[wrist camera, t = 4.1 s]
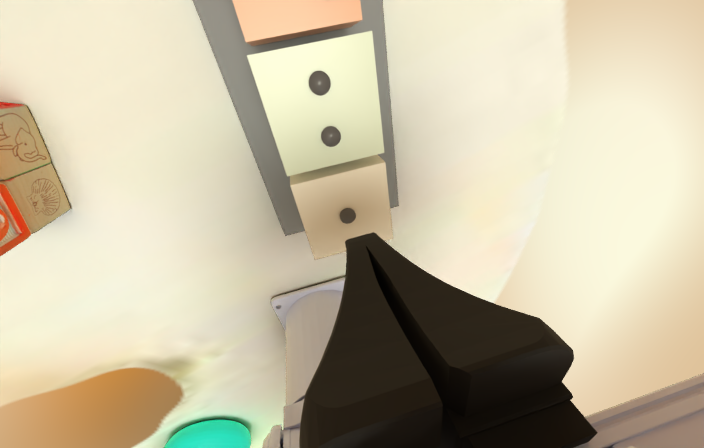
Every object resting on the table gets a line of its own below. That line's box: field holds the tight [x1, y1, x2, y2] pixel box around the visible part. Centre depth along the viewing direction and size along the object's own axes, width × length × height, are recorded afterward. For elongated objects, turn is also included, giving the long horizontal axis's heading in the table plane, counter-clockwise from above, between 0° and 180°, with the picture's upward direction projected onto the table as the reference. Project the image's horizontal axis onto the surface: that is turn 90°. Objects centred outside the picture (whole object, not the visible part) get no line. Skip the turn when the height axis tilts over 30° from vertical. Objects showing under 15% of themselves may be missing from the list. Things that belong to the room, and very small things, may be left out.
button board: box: [193, 0, 399, 236], centre depth 14 cm, size 17×9×3 cm, turn 10°
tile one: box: [290, 155, 393, 260], centre depth 15 cm, size 5×5×3 cm
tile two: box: [247, 31, 384, 176], centre depth 12 cm, size 5×5×3 cm
